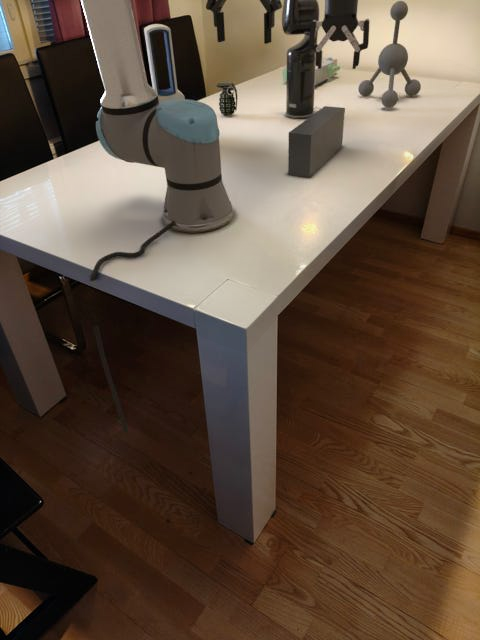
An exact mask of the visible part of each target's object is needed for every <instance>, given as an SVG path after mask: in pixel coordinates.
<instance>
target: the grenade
mask: <svg viewBox="0 0 480 640" xmlns="http://www.w3.org/2000/svg"><path fill="white" fill-rule="evenodd" d="M215 87H217V88H219V89H221V93H219V97H218V101H219V102H218V106H219V108H218V109H219V112H220V114H221V115H222V116H224V117H231V116H233V115H234V113H235V112H236V111H237V108H238V89H237V87H236V85H235V84H234V83H233V82H218V83H217V84H216V86H215ZM232 91H233V92H232ZM234 94H235V96H234Z"/></svg>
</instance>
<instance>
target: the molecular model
mask: <svg viewBox="0 0 480 640" xmlns="http://www.w3.org/2000/svg"><path fill="white" fill-rule="evenodd" d="M389 13H390V14H389V15H390V17H391V19H392V20H393V21H395V23H394V31H393V36H392V37H393V38H392V43H389V44H387V45H386V46H384V47H383V48H382V50H381V51H380V53H379V55H378V59H377V64H378V67H377V69H376V70H375V72H374V74H373V75H372V76H371V78H370V79H365V80H362V81H361V82H360V83H359V85H358V94H359V95H360V96H362V97H365V98H367V97H369V96H371V95H372V94H373V93H374V90H375V86H374V82H375V80H376V79H377V78H378V76H379V75H380V74H381V72H382V73H383V74H385V76H389V79H388V89H387V90H385V91H384V92H383V93H382V95H381V98H380V102H381V104H382V106H383V107H385V108H388V109H389V108H393V107H394V106H396V105H397V103H398V101H399V94H398V92H397V91H396V90H394V84H395V83H394V82H395V76H396V75H399V74H402V76H403V78H404V80H405V82H406V83H405V86H404V93H405V94H406V95H407V96H409V97H414V96H416V95H418V94H419V93H420V91H421V88H422V85H421V83H420V81H419V80H418V79H411V77H410V75H409V74H408V72H407V70H406V67H407V64H408V60H409V53H408V50H407V48H406V47H405V46H404V45H403V44H401V43H398V39H399V32H400V26H401V25H400V24H401V21H403V20H404V19H405V18H406V16H407V15H408V13H409V7H408V4H407V3H406V2H405V1H403V0H398V1H396V2H394V3H393V4H392V6H391V7H390V12H389Z"/></svg>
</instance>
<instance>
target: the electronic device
mask: <svg viewBox="0 0 480 640" xmlns="http://www.w3.org/2000/svg"><path fill="white" fill-rule="evenodd" d="M143 32H144V39H145V45H146V52H147V59H148V66H149V73H150V79H151V80H150V81H151V87H152V88H153V89H155V90H156V91H157V95H158V100H159V104H161V103H162V102H165V101H168V100H174V99H180V100H185V99H186V97H185V95H184V94H183V93H182V91H180V90H179V89H178V82H177V81H178V80H177V72H176V65H175V64H176V63H175V56H174V48H173V39H172V30H171V28H170V27H169V26H167V25H165V24H161V23H152V24H149V25H147V26H145V27H144V28H143ZM157 32H158V33H159V32H161V33H162V32H163V38H164V46H165V54H166V62H167V71H168V79H169V86H170V87H169V88H166V89H160V88H159V79H158V74H157V72H158V71H157V66H156V65H157V64H156V58H155V51H154V44H153V37H152V34H154V33H157Z"/></svg>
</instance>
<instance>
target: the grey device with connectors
mask: <svg viewBox="0 0 480 640" xmlns="http://www.w3.org/2000/svg"><path fill="white" fill-rule="evenodd" d="M340 70H341V65H338V58H332V57H322V67H321V69H318V66H316V65H315V85H317V84H319V83H321V82H322V81H324V80H326V79H327V80H329V79H331V78H333V77H334V75H336V74H337V72H338V71H340ZM282 82H286V83H287V65H286V66H284V68H282Z"/></svg>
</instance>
